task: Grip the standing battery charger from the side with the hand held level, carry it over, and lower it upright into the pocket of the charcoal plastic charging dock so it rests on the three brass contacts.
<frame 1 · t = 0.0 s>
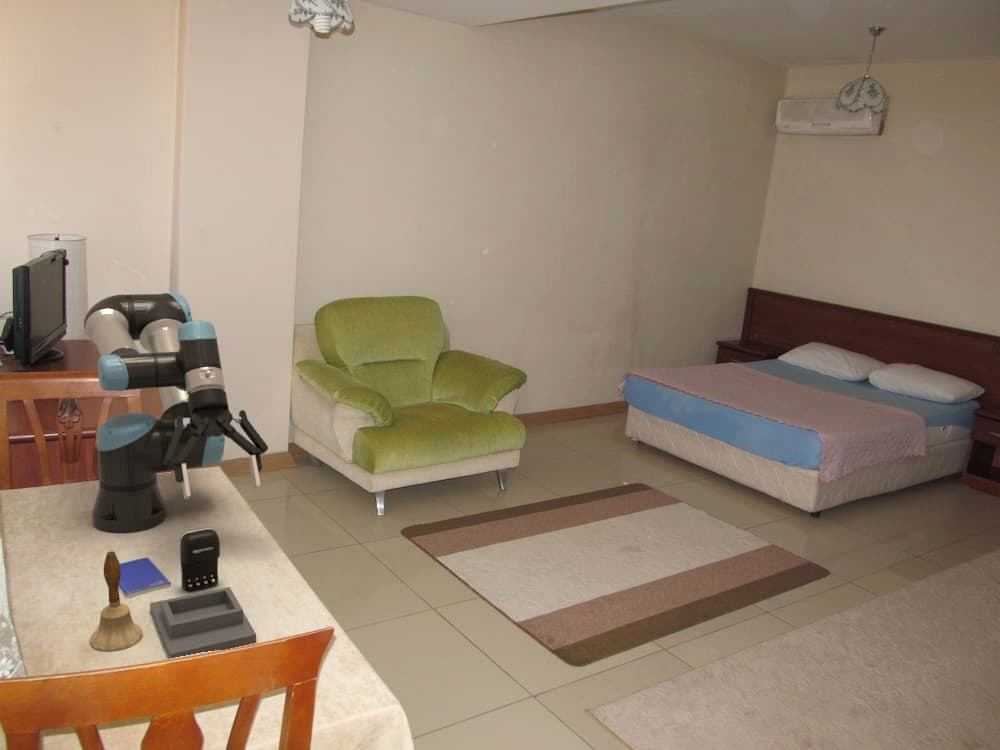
hand: (223, 492, 169), 15 cm above the table, tool tilted 35°, fingers open, 13 cm apart
hard drive: (138, 582, 164), on the table
dock: (202, 625, 149), on the table
hand bell: (116, 639, 144), on the table
battery charger: (201, 587, 163), on the table
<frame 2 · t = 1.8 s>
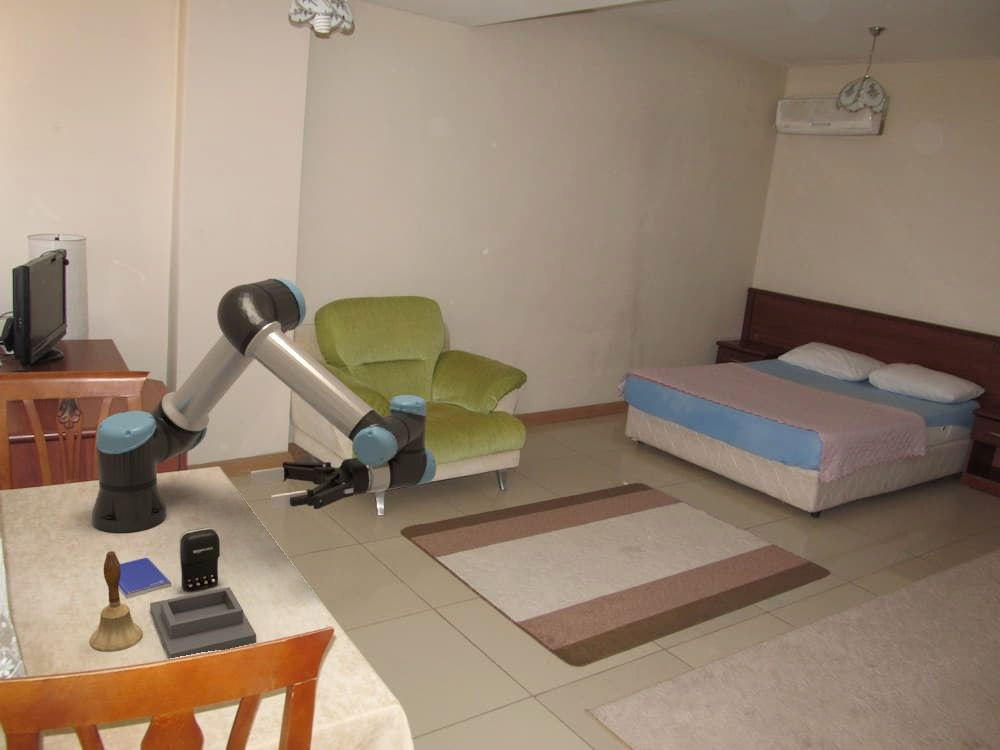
hand: (260, 490, 164), 18 cm above the table, tool horizontal, fingers open, 13 cm apart
nothing on the table moved.
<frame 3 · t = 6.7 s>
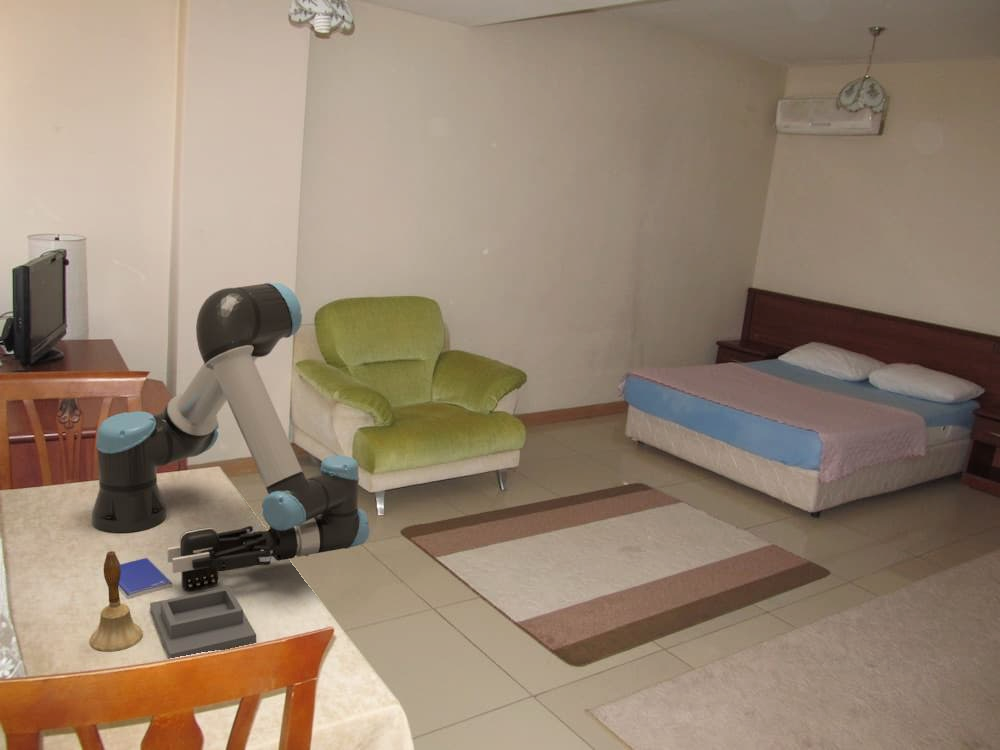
hand: (170, 560, 158), 7 cm above the table, tool horizontal, fingers closed on battery charger, 4 cm apart
battery charger: (201, 587, 163), on the table, touching gripper
everything else where it was.
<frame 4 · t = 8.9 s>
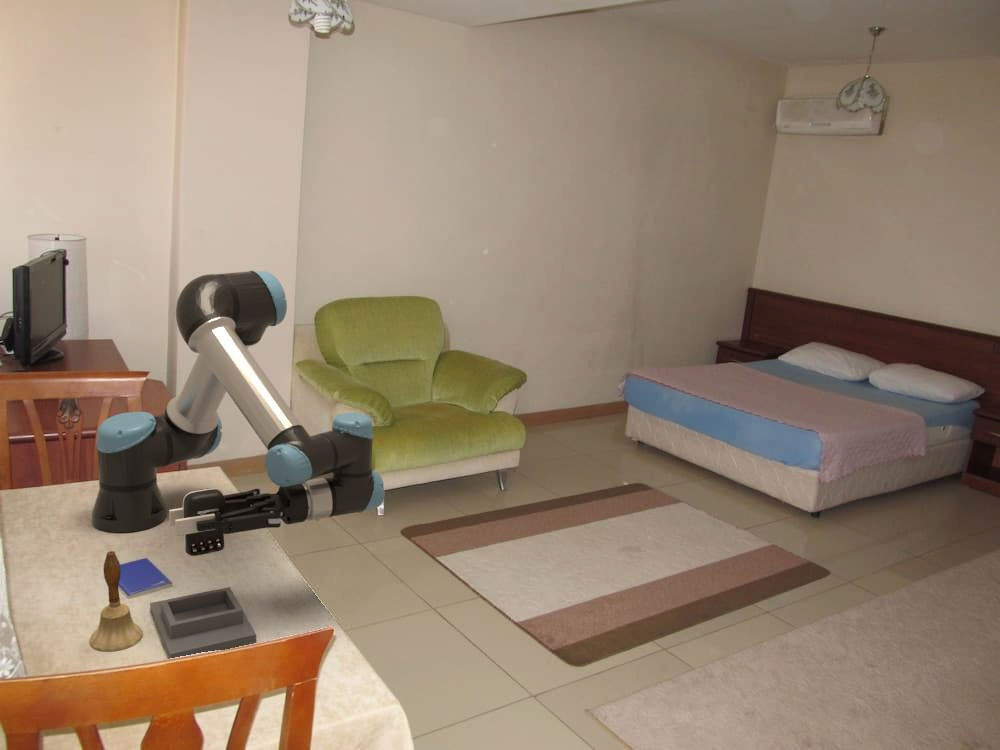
hand: (173, 522, 147), 19 cm above the table, tool horizontal, fingers closed on battery charger, 4 cm apart
battery charger: (205, 552, 151), point 12 cm above the table, touching gripper
everything else where it was.
when the fingers open (10 cm above the table, at t = 11.4 s): battery charger drops 1 cm, resting on dock.
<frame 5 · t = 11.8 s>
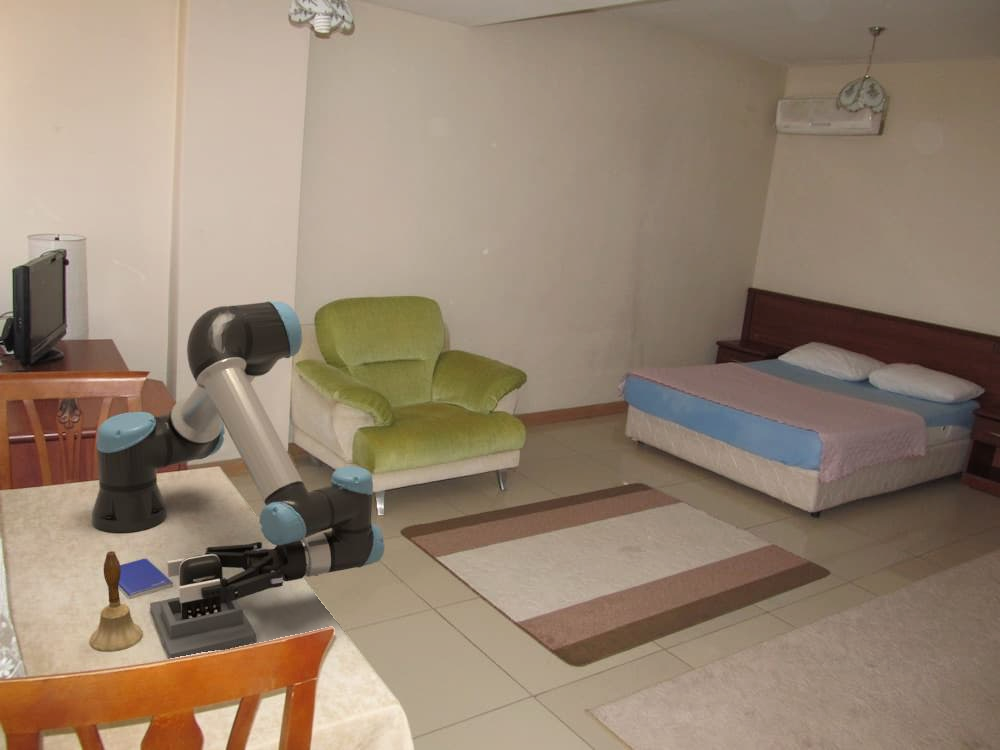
hand: (173, 581, 145), 10 cm above the table, tool horizontal, fingers open, 9 cm apart
battery charger: (202, 619, 149), point 1 cm above the table, touching dock
everything else where it was.
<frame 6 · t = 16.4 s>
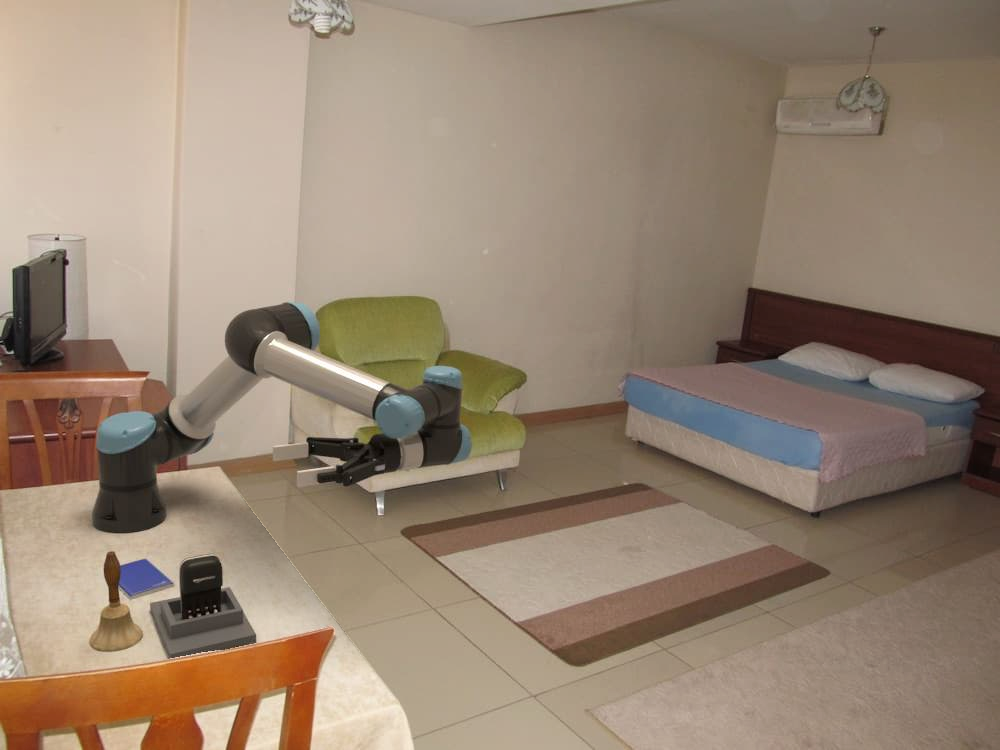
hand: (284, 466, 150), 28 cm above the table, tool horizontal, fingers open, 13 cm apart
nothing on the table moved.
at the end: battery charger 0.1 cm off-centre on the dock, point 1.3 cm above the dock's base; battery charger tilted 0°; the gripper is holding nothing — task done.
